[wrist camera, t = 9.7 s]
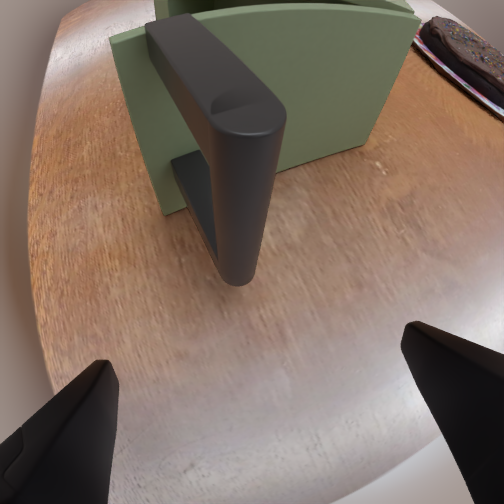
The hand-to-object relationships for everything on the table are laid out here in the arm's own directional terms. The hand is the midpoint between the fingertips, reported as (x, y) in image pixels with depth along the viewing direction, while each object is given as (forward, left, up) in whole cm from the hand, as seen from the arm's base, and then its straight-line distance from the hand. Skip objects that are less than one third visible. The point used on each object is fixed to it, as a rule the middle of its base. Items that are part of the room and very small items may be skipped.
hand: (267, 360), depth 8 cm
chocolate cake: (+25, -49, -8) cm, 56 cm away
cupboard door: (+8, -6, -7) cm, 13 cm away
